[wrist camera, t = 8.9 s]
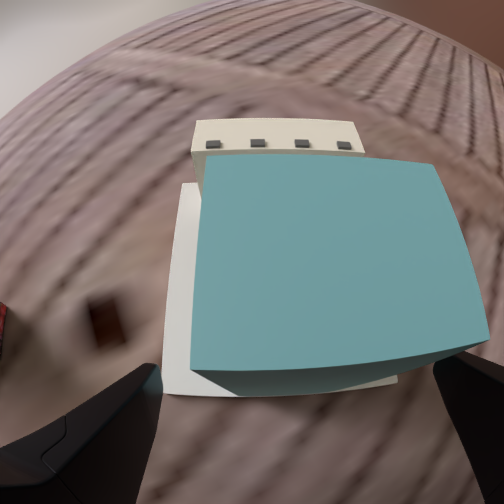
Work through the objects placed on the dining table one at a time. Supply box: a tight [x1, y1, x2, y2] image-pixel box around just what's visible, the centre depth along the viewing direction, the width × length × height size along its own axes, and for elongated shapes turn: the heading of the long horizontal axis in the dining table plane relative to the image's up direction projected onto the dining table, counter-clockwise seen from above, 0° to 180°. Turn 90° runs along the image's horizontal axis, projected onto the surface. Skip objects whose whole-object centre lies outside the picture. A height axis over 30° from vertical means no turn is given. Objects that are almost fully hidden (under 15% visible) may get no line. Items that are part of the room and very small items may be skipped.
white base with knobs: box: [162, 118, 398, 397], centre depth 17 cm, size 15×14×7 cm
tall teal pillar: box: [190, 154, 490, 396], centre depth 11 cm, size 4×5×13 cm
